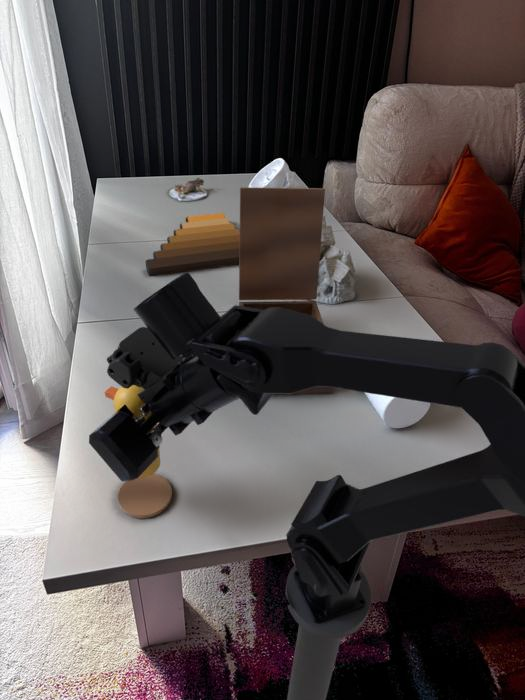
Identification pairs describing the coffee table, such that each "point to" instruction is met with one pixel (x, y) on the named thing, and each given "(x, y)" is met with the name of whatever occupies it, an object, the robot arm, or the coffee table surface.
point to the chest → (301, 307)
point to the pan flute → (197, 246)
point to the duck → (134, 404)
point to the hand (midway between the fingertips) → (128, 426)
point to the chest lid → (280, 243)
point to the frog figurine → (189, 191)
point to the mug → (398, 410)
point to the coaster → (145, 496)
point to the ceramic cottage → (334, 271)
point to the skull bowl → (275, 176)
